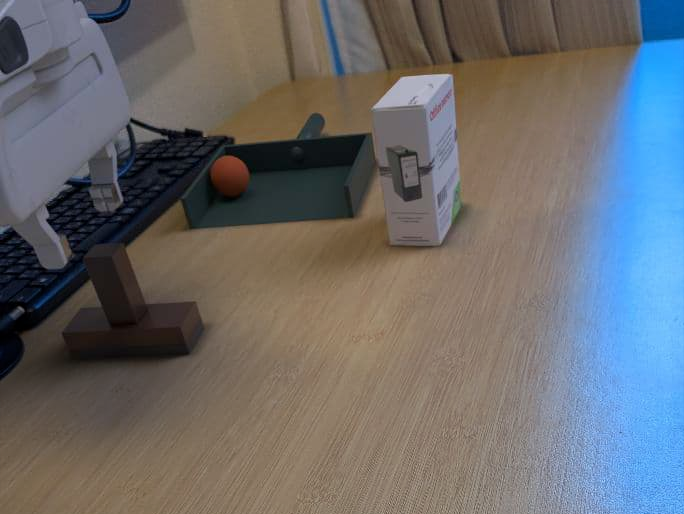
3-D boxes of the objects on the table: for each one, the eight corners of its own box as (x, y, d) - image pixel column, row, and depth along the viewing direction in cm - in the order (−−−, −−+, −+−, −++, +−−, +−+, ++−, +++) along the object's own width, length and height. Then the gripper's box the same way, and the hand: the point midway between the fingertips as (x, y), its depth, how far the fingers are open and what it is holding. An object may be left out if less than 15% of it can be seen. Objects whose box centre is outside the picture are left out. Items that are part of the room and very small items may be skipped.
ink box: (414, 207, 80) (399, 73, 72) (464, 207, 78) (454, 70, 70) (387, 246, 74) (368, 106, 66) (440, 247, 73) (426, 104, 65)
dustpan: (353, 218, 80) (348, 185, 78) (189, 229, 83) (180, 198, 81) (389, 128, 98) (386, 99, 96) (253, 140, 101) (247, 112, 98)
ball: (241, 143, 85) (263, 179, 87) (219, 153, 87) (241, 188, 90) (218, 164, 83) (241, 200, 85) (196, 173, 85) (218, 208, 88)
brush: (73, 360, 66) (30, 266, 61) (92, 334, 69) (53, 242, 63) (189, 355, 64) (156, 258, 59) (204, 329, 67) (174, 234, 62)
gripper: (31, -15, 59) (101, 182, 68) (-139, 69, 44) (-20, 303, 54) (113, -24, 58) (172, 177, 67) (-34, 59, 43) (68, 300, 53)
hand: (86, 234), depth 60 cm, fingers open, 8 cm apart
